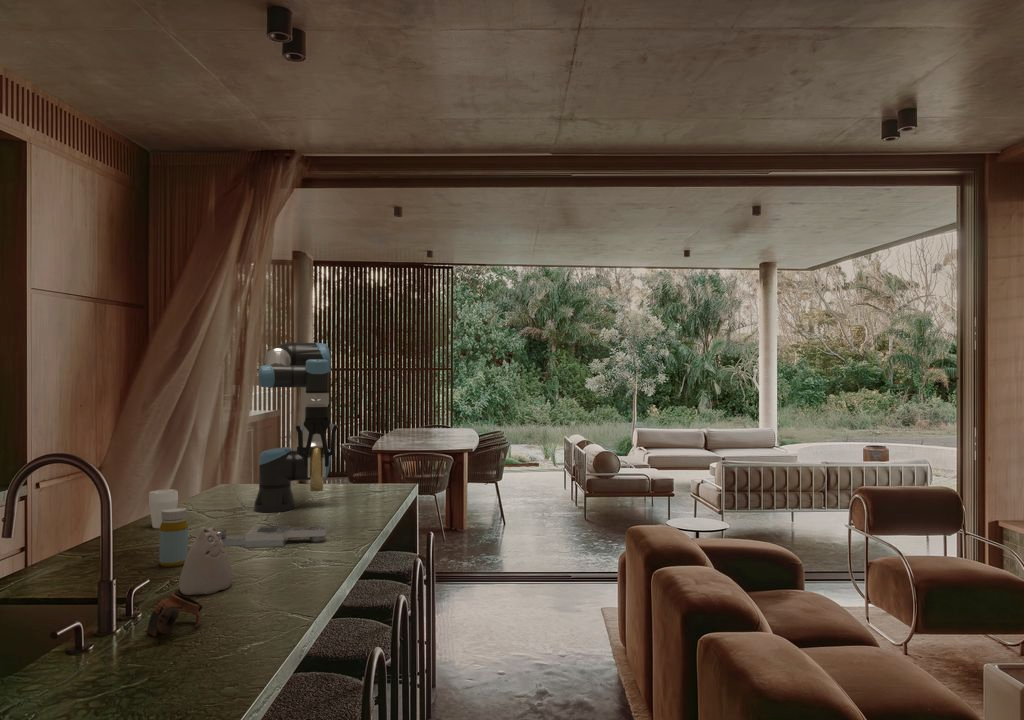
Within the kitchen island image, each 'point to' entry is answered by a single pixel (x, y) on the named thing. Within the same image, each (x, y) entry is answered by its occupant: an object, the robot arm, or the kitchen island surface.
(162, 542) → the bottle
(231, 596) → the kitchen island surface
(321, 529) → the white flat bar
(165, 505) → the cup
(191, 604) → the brown curved piece
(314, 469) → the pin
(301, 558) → the kitchen island surface
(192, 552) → the sculpture
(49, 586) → the kitchen island surface
